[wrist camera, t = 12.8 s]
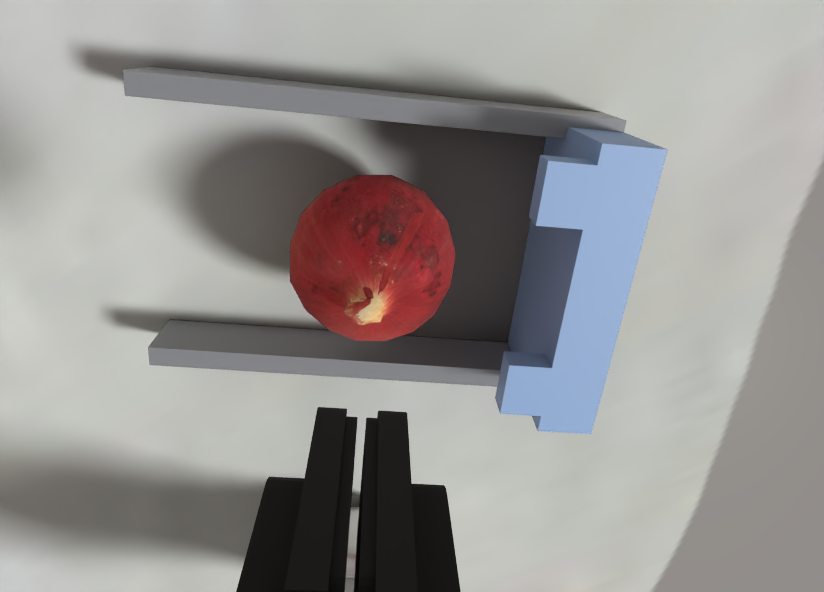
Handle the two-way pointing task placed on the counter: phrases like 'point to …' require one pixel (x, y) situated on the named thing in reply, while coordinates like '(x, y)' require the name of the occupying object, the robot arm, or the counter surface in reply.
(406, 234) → the pomegranate
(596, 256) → the blue bracket
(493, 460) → the counter surface
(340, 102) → the grey parallel strips
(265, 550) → the robot arm
